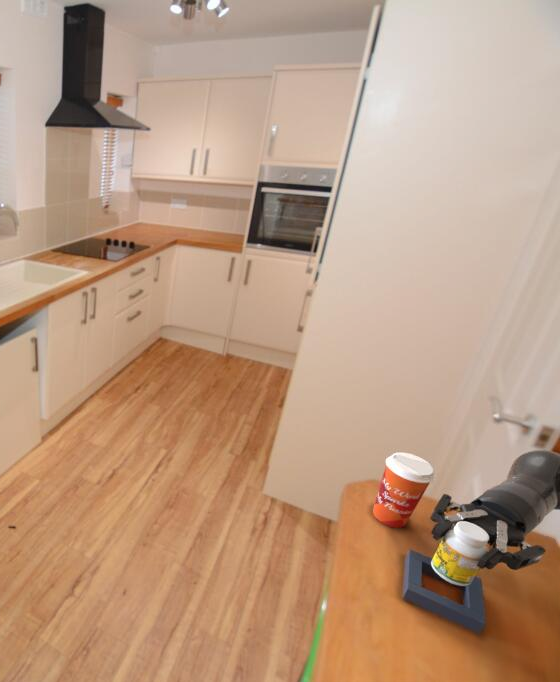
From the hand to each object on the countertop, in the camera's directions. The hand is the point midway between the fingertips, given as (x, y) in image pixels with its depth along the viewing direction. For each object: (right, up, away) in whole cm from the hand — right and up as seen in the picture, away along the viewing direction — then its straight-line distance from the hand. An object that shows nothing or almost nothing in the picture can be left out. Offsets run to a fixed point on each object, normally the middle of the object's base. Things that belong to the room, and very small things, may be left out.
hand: (458, 548), depth 72 cm
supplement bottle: (+2, -6, +4) cm, 8 cm away
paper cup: (+5, -3, +21) cm, 22 cm away
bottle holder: (+2, -11, +6) cm, 12 cm away
